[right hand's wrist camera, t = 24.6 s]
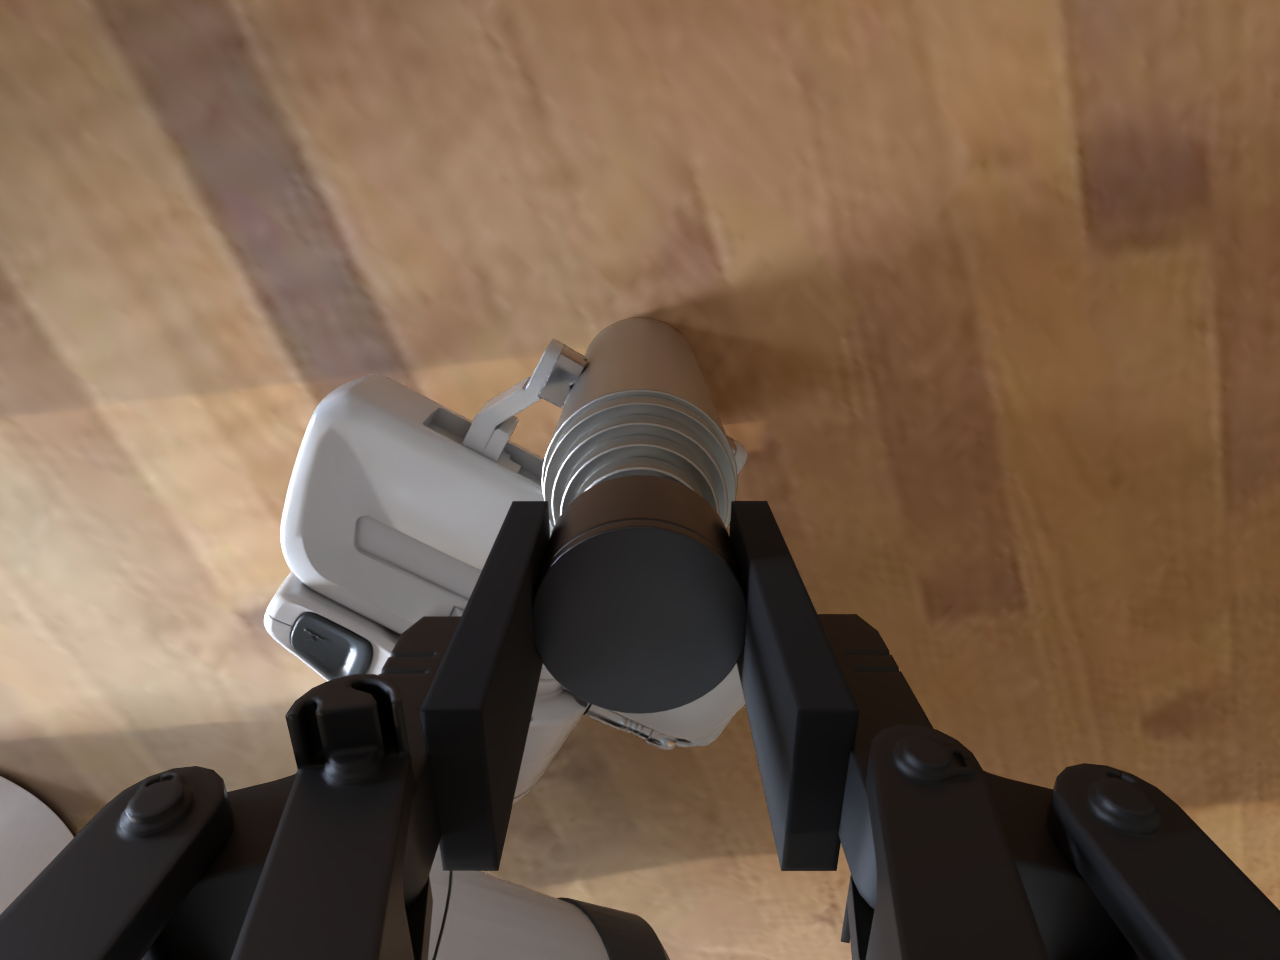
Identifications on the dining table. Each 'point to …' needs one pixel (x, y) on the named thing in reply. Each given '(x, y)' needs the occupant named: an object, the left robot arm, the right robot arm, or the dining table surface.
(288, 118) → the dining table surface
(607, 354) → the bottle
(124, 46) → the dining table surface
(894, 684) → the right robot arm
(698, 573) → the cap
